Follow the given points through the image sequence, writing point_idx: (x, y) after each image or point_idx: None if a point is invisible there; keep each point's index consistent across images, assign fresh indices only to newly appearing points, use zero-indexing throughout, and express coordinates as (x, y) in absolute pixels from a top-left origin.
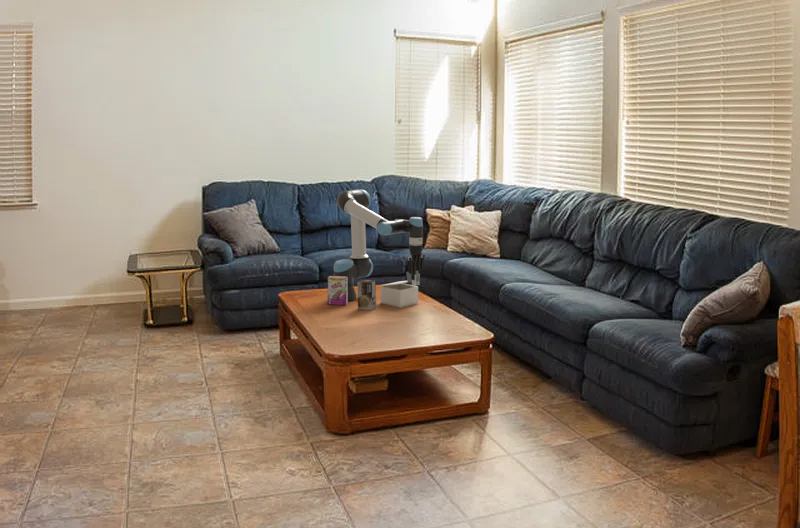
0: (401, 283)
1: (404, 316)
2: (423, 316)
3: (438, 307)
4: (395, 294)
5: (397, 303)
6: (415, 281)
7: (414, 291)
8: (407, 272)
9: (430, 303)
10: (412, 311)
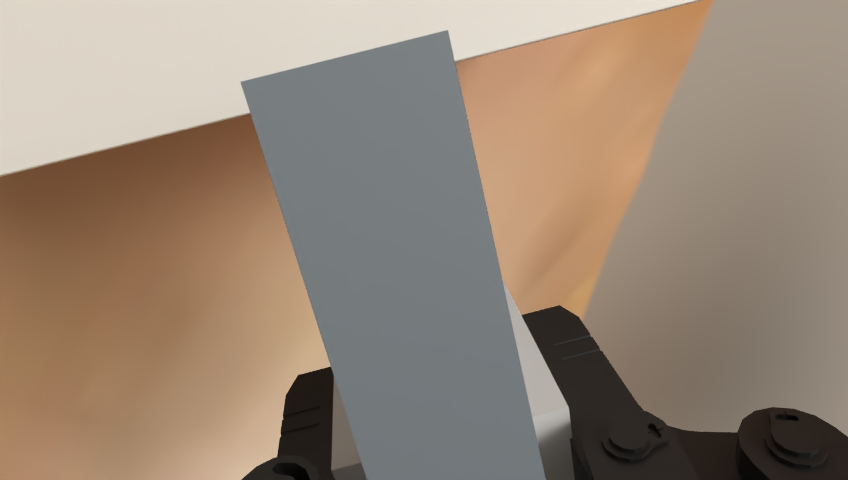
0: (60, 160)
1: (74, 418)
2: None
3: (562, 289)
4: None
5: None
6: None
7: None
8: (281, 195)
9: (627, 100)
10: (240, 303)
